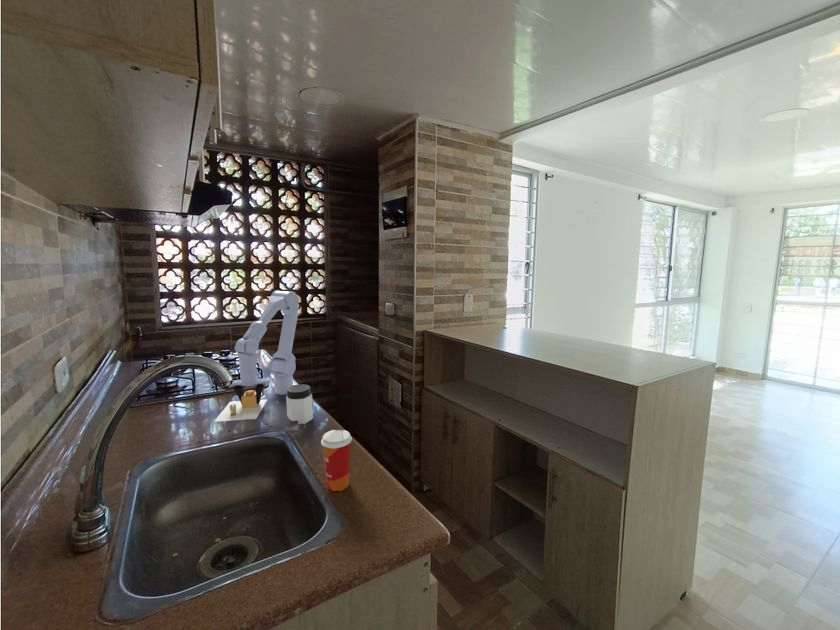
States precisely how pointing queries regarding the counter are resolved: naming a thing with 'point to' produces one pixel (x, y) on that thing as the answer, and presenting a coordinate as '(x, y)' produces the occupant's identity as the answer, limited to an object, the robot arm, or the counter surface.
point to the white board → (240, 412)
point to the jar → (299, 403)
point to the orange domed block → (249, 399)
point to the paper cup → (337, 458)
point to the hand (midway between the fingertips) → (250, 403)
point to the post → (233, 410)
